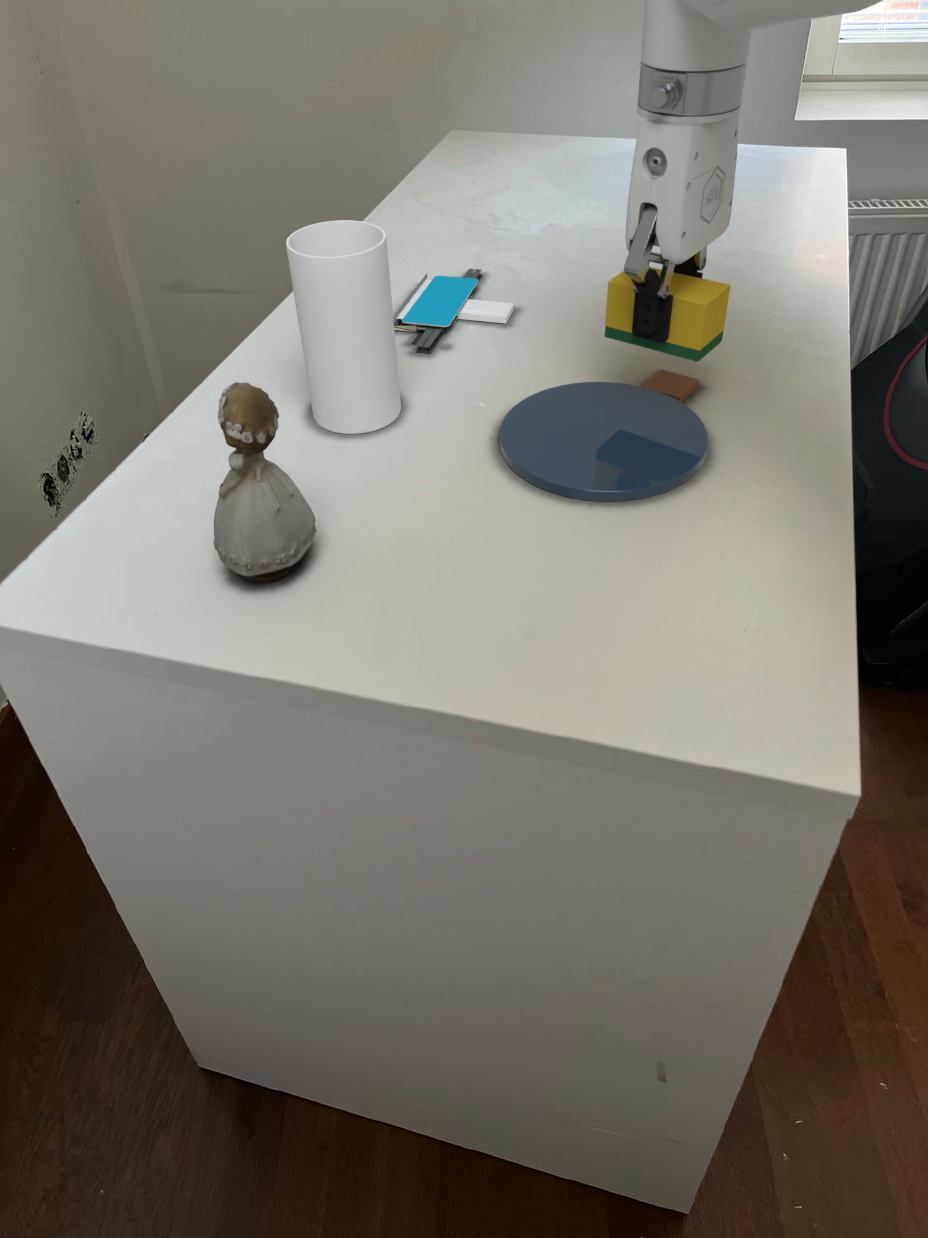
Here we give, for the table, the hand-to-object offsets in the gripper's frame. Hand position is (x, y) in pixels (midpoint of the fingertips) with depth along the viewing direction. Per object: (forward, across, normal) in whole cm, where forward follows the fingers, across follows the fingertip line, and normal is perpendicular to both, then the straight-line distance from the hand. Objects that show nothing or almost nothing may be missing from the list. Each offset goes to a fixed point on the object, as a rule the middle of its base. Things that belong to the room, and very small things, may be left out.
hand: (664, 324), depth 81 cm
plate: (+8, -8, +1) cm, 11 cm away
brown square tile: (+8, +4, +1) cm, 9 cm away
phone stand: (+8, +7, +28) cm, 30 cm away
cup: (+8, -15, +23) cm, 29 cm away
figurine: (+8, -36, +13) cm, 39 cm away
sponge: (+1, 0, 0) cm, 1 cm away
